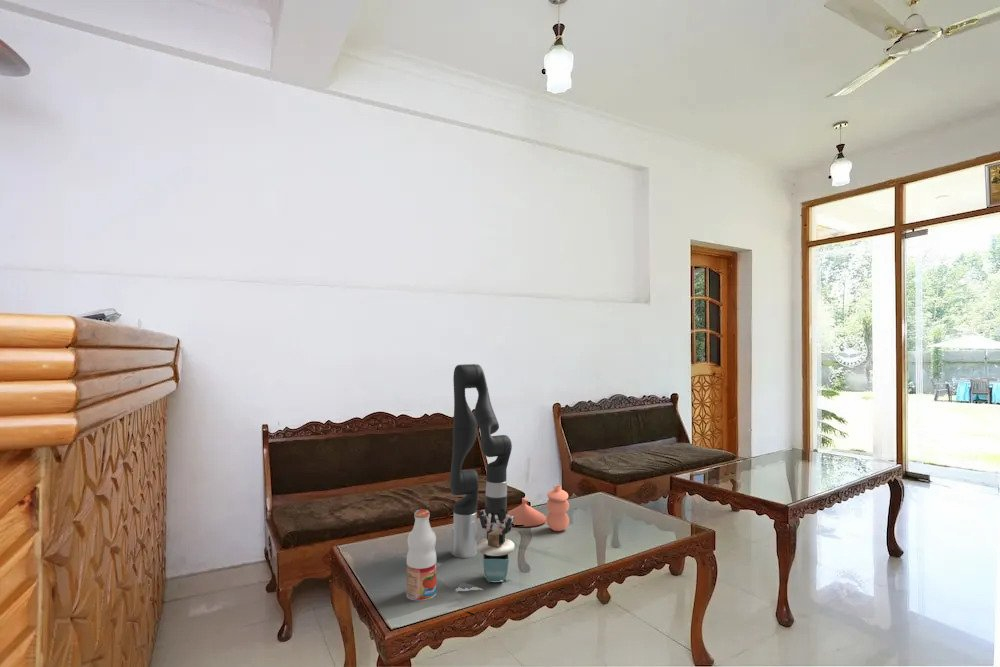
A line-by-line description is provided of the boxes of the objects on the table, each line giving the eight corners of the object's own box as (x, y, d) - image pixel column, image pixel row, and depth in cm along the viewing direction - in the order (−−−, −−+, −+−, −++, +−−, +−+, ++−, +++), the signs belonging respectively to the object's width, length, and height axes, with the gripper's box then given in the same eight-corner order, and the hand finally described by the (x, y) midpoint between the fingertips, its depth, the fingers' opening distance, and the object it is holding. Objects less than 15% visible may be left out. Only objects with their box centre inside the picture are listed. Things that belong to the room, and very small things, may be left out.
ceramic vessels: (492, 517, 230) (492, 477, 230) (521, 507, 245) (522, 469, 245) (552, 539, 206) (552, 494, 206) (580, 525, 221) (580, 483, 221)
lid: (469, 550, 168) (469, 535, 168) (489, 537, 179) (489, 523, 180) (502, 559, 162) (502, 543, 162) (521, 545, 173) (521, 530, 173)
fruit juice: (412, 591, 162) (412, 506, 162) (439, 593, 161) (440, 507, 161) (401, 606, 153) (402, 516, 153) (431, 609, 151) (431, 518, 152)
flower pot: (507, 573, 175) (507, 548, 175) (508, 585, 166) (509, 559, 166) (483, 573, 175) (483, 548, 175) (482, 586, 166) (483, 559, 166)
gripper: (473, 492, 171) (472, 542, 171) (508, 499, 164) (508, 551, 164) (484, 487, 178) (484, 534, 177) (519, 493, 170) (518, 543, 170)
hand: (495, 542), depth 171 cm, fingers closed on lid, 4 cm apart
